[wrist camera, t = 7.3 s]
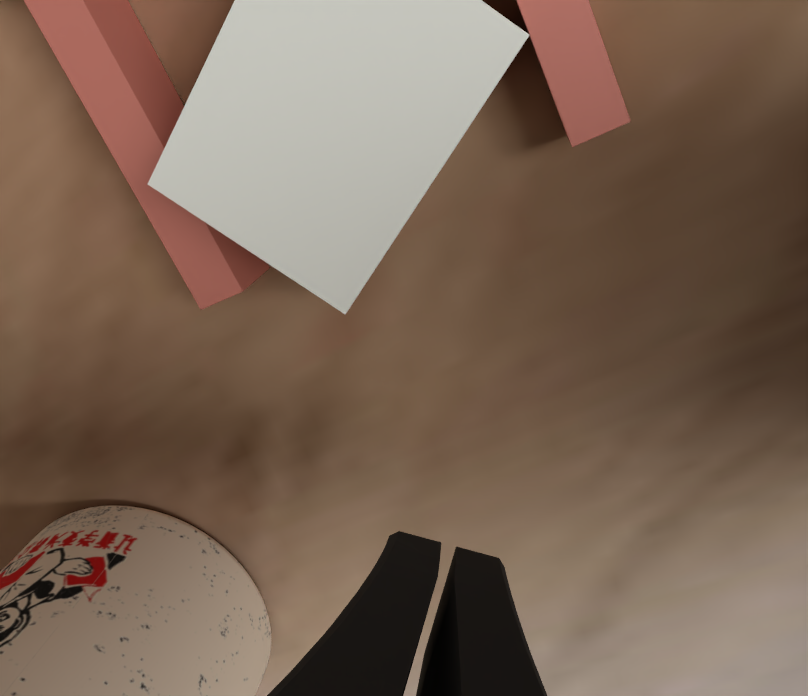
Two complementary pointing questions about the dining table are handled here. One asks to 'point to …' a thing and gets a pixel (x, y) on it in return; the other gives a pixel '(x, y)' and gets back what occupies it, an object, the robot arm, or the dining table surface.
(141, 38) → the pink u-shaped block
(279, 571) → the dining table surface
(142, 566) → the teacup with lid
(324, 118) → the white rectangular block
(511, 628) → the robot arm
